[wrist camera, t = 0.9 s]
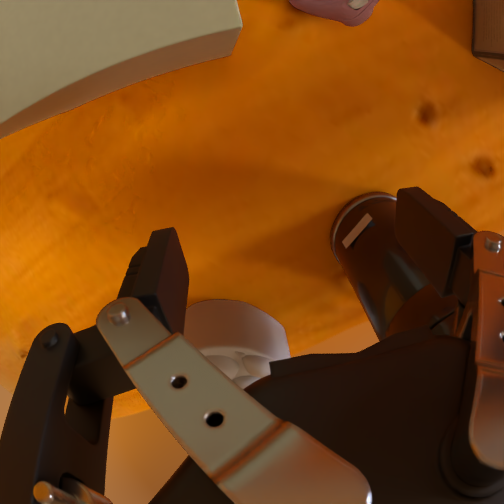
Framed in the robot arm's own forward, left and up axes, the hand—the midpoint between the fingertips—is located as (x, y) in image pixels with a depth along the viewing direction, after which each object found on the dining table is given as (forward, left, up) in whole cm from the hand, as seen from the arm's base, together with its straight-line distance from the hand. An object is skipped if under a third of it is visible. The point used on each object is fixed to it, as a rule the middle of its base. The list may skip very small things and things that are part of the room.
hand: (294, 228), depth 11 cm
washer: (+15, +8, -19) cm, 25 cm away
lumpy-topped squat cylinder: (-23, +8, -19) cm, 31 cm away
